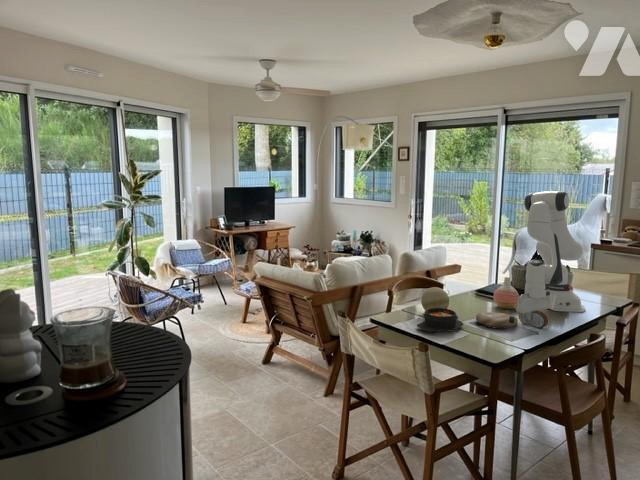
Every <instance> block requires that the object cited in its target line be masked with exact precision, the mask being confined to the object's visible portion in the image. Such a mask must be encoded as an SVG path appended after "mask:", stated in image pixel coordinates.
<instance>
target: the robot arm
mask: <svg viewBox="0 0 640 480" xmlns="http://www.w3.org/2000/svg"><path fill="white" fill-rule="evenodd" d="M523 201H524V202H523V204H524V205H523V206H524V208H525V209H526V211H527V212H528V214H527V220H526V221H527V222H526V223H527V224H526V228H527V233H528V236H529V237H530V238H531V239H533V240H535V241H537V243H536V245H535V249H536V252H537V254H538V255H540V257H541V258H542V260H539V259H532V260H531V259H530V260H529V261H528V262H527V264H526V265H525V266H524V267H523V278H522V279H524V280H525V285H524V293H523V294H521V295H519V299H518V302H517V305H516V307H515V308H516V313H518V314H519V313H526V315H527V319H528V320H532V316H531V315H530V314H531V312H533V311H542V310H548V309H549V310H552V311H553V312H554V311H555V312H569V313H573V312H574V313H585V311H586V308H585V306H584V305H583V304H582V301H581V298H580V296H579V295H577V294H576V293H575V292H574V291H572V290H573V285H571V284H570V283H568V279H569V277H568V276H569V271H568V270H569V269H568V268H567V267H566V266H565V265H564V264H563V263H562V261H570V262H571V261H578V260H579V259H580V258H581V257H582V256H583V253H584V248H583V246H582V245H581V244H580V243H579V242H578V241H577V240H576V239H575V238H574V237H573V236H572V234H571V233H570V230H569V228H568V222H567V215H566V210H567V209H568V207H569V205H570V197H569V194H568V193H567V192H566V191H562V190H561V191H560V190H558V191H556V190H555V191H554V190H553V191H551V190H549V191H548V190H546V191H539V192H530V193H527V195H525V198H524V199H523ZM580 260H581V259H580Z"/></svg>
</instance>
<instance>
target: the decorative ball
mask: <svg viewBox="0 0 640 480" xmlns="http://www.w3.org/2000/svg"><path fill="white" fill-rule="evenodd" d="M420 299H421V301H420V303H421V306H422V309H424V311H426V310H428V309H432V308H444V309H448V308H449V305H450V298H449V295H448V293H447V291H445V290H444V289H443V288H440V287H437V286H433V287H429V288H427V289H425V290H424V291H423V293H422V295H421V298H420Z"/></svg>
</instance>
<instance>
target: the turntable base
mask: <svg viewBox="0 0 640 480" xmlns="http://www.w3.org/2000/svg"><path fill="white" fill-rule="evenodd" d="M487 327H488V325H487ZM493 327H494V326H490V327H489V328H493ZM494 329H508V328H507V327H495V328H494Z"/></svg>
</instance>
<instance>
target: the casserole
mask: <svg viewBox="0 0 640 480" xmlns="http://www.w3.org/2000/svg"><path fill="white" fill-rule="evenodd" d="M424 311H425V310H424ZM423 318H424V320H423V321H421V322H420V323H417V324H416V327H417V328H419V329H421V330H422V331H427V332H430V333H431V332H435V333H436V332H438V333H439V332H440V333H441V332H442V333H444V332H452V331H456V330H459V328H460V327H462V326H464V323H463V321H460V320H458V319H459V317H458V315H457V312H456V311H454V310H453V309H448V308H447V309H444V308H432V309H428V310H426V311H425V312H424V313H423Z"/></svg>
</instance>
